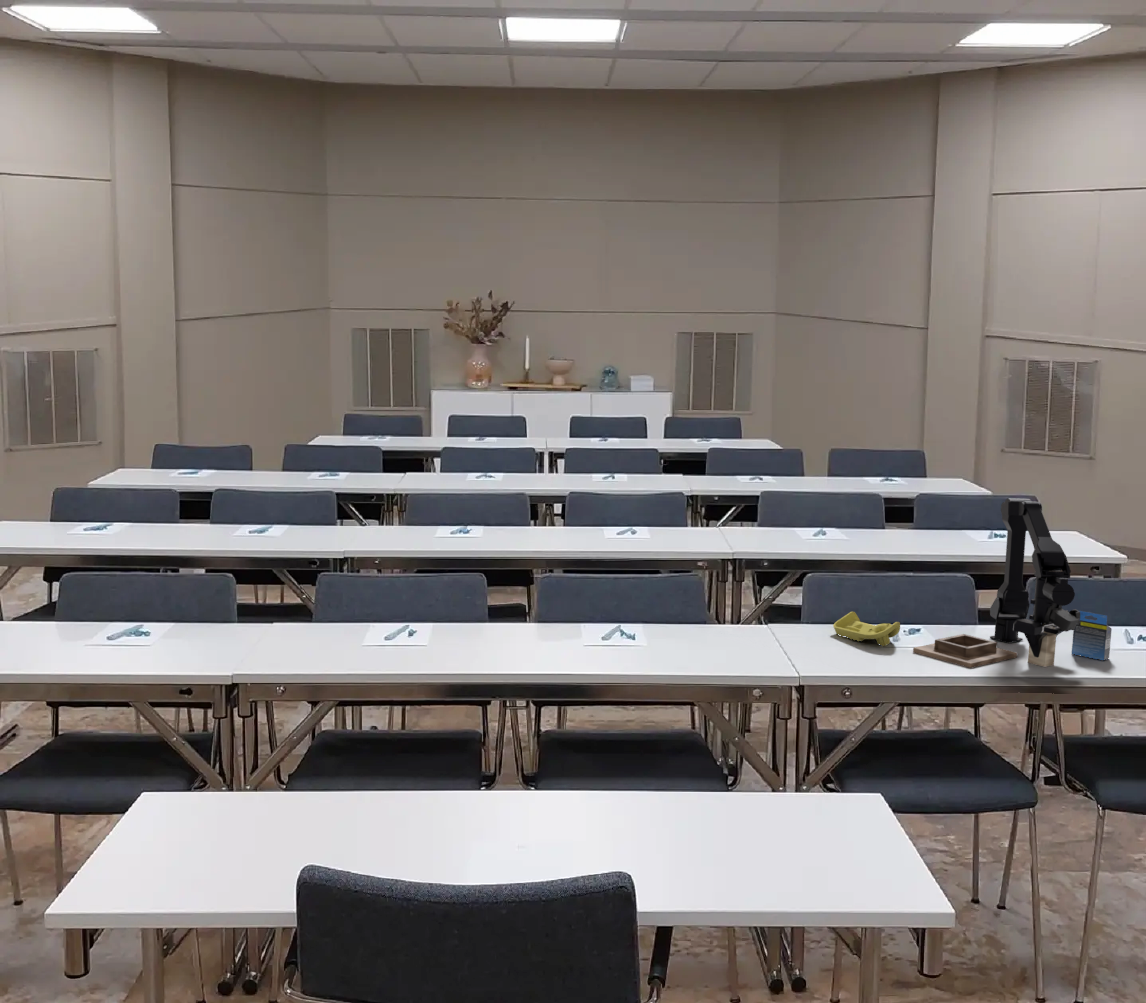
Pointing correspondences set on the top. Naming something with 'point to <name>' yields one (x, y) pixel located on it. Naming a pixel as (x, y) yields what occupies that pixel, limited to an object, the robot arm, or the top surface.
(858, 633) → the plastic component
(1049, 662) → the birch peg
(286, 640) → the top surface
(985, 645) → the holder board
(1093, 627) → the blue retail box
